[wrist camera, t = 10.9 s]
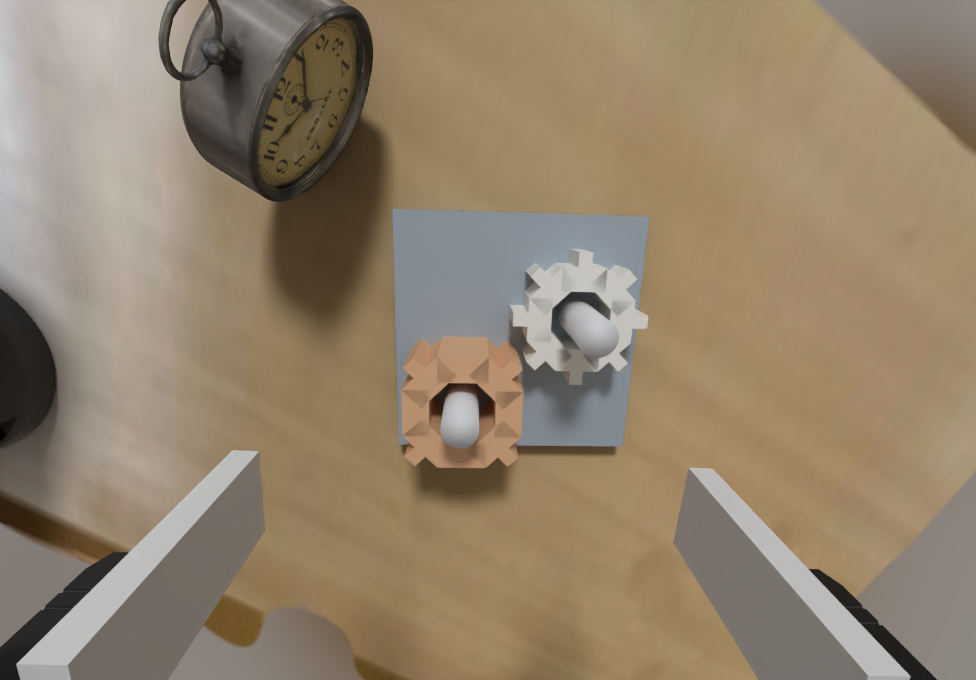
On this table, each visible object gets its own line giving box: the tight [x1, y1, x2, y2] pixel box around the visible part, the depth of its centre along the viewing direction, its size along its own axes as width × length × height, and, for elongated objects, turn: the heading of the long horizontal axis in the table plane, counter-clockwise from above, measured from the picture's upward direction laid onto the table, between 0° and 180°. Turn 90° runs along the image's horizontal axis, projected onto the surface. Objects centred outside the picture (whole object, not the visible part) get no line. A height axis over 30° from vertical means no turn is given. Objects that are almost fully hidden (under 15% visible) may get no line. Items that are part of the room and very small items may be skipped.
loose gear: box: [401, 336, 523, 468], centre depth 32 cm, size 8×8×5 cm
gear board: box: [393, 209, 649, 449], centre depth 31 cm, size 18×18×9 cm
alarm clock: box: [159, 0, 373, 202], centre depth 23 cm, size 11×5×16 cm, turn 148°
